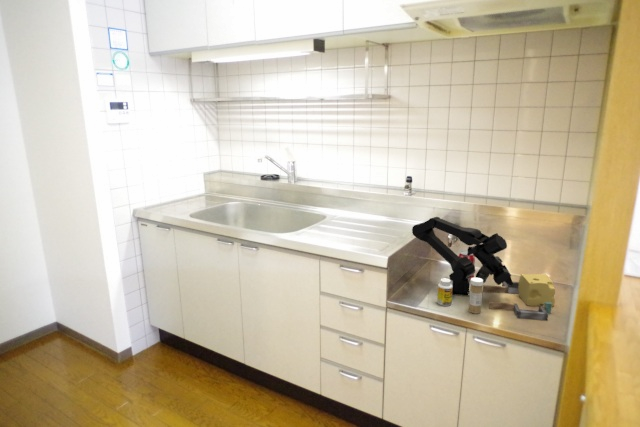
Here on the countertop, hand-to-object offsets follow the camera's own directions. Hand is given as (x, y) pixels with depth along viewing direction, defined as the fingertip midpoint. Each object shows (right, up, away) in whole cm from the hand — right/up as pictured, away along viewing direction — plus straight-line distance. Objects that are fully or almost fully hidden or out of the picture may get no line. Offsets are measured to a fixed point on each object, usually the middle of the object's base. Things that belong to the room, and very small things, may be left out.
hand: (512, 284), depth 171 cm
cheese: (+10, -7, +1) cm, 12 cm away
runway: (+2, -7, +1) cm, 7 cm away
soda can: (-11, -2, +24) cm, 26 cm away
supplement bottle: (-27, -8, +1) cm, 28 cm away
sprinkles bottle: (-18, -9, -7) cm, 21 cm away
